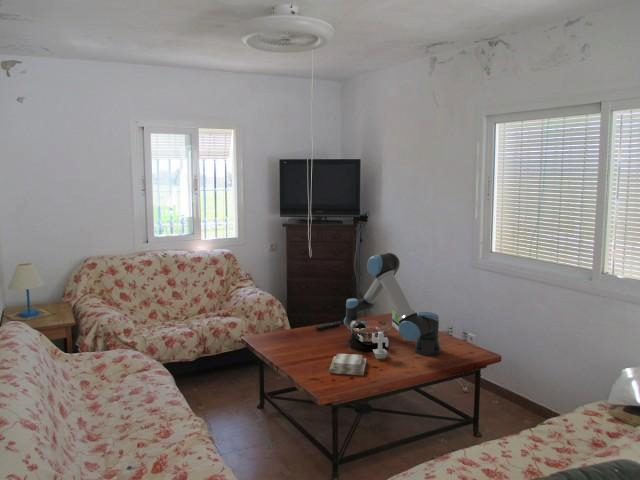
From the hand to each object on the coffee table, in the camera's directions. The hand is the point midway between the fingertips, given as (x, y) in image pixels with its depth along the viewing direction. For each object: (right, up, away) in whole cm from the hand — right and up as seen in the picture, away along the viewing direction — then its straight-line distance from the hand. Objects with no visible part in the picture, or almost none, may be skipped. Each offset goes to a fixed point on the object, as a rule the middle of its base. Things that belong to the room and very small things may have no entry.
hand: (373, 338), depth 301 cm
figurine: (+3, -10, -7) cm, 13 cm away
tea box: (+24, -2, +45) cm, 51 cm away
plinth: (-16, -12, -22) cm, 29 cm away
